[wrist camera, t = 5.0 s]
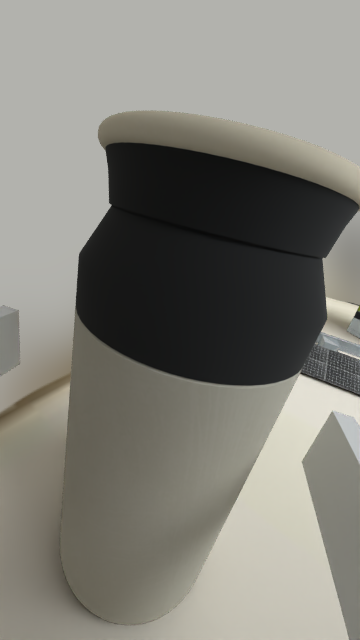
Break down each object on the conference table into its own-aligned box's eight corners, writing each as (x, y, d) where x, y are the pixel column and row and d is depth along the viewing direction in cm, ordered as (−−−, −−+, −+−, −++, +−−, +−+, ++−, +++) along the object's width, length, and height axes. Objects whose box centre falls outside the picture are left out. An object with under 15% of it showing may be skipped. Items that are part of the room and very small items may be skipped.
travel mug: (225, 608, 12) (491, 202, 5) (39, 650, 10) (49, 25, 3) (187, 456, 19) (275, 197, 12) (73, 460, 17) (100, 146, 10)
